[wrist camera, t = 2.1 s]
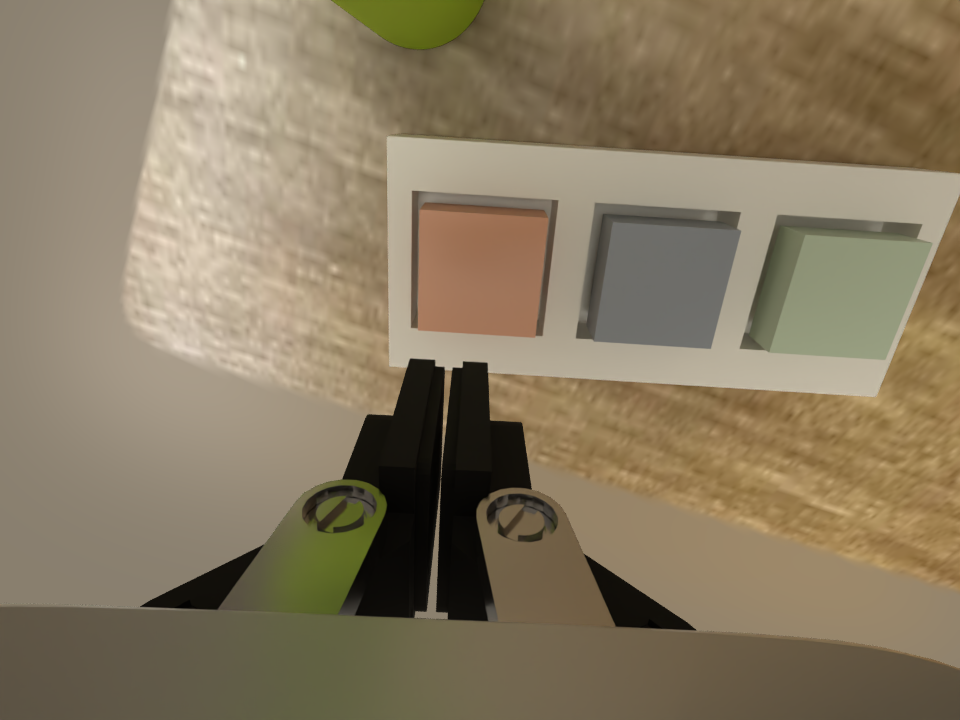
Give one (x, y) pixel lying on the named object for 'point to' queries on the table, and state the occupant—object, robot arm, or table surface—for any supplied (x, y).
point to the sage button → (836, 291)
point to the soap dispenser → (414, 19)
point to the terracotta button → (480, 269)
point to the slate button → (660, 280)
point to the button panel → (650, 193)
